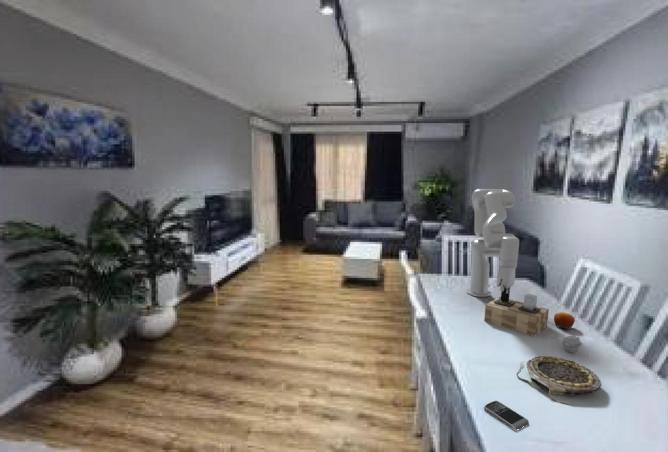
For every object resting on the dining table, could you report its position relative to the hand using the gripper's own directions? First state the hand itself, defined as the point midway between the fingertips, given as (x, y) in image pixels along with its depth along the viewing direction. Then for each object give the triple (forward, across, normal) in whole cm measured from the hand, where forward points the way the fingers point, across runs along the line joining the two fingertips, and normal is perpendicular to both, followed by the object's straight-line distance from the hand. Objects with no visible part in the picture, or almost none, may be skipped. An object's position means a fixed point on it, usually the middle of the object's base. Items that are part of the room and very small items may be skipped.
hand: (504, 300), depth 173 cm
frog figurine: (+9, +13, +31) cm, 35 cm away
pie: (+10, +38, +35) cm, 53 cm away
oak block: (+9, 0, +6) cm, 11 cm away
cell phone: (+10, +71, +29) cm, 77 cm away
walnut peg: (+9, 0, 0) cm, 9 cm away
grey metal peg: (+3, 0, +11) cm, 12 cm away
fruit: (+10, -12, +22) cm, 27 cm away
